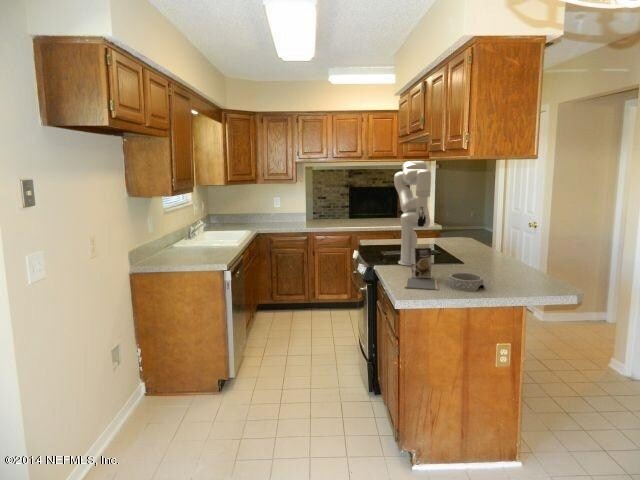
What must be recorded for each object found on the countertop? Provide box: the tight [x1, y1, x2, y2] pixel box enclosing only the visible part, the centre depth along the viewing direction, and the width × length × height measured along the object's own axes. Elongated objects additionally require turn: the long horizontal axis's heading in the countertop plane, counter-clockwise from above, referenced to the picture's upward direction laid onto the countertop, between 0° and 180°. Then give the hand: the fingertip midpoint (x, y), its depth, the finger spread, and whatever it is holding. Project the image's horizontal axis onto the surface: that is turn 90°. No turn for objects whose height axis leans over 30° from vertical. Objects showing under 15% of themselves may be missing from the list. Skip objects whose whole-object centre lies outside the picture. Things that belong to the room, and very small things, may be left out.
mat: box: [404, 277, 439, 291], centre depth 234 cm, size 18×16×1 cm
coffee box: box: [410, 247, 432, 279], centre depth 246 cm, size 9×6×16 cm
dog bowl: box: [446, 272, 485, 292], centre depth 231 cm, size 17×18×5 cm
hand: (421, 224), depth 249 cm, fingers open, 9 cm apart
